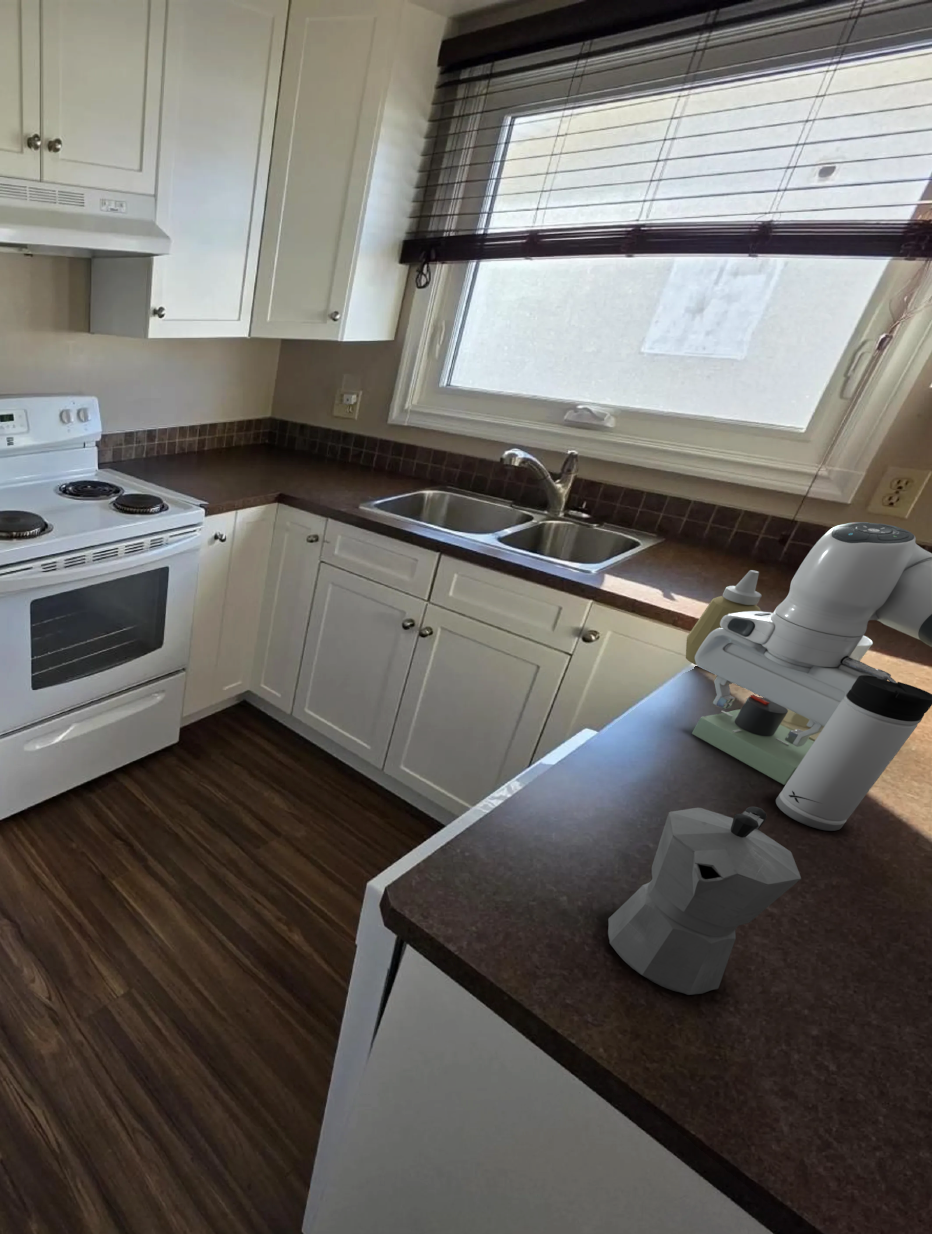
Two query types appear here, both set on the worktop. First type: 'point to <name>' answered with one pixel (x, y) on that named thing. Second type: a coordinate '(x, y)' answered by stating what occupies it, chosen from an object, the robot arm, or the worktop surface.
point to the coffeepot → (700, 897)
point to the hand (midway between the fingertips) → (755, 723)
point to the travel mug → (852, 751)
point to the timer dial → (760, 716)
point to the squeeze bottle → (723, 611)
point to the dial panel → (753, 745)
